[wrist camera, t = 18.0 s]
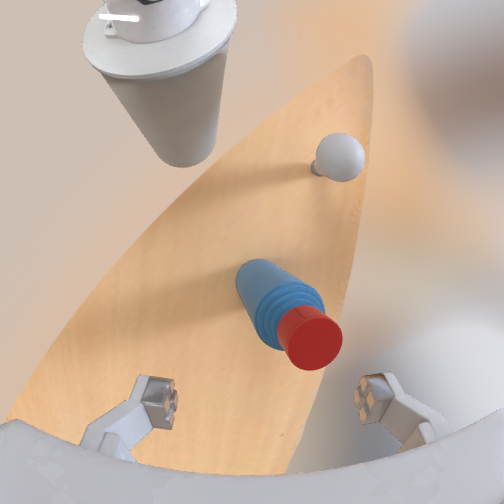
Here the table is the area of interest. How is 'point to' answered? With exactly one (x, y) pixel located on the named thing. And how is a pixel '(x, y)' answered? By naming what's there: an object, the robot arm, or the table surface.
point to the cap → (309, 337)
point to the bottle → (272, 297)
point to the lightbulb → (338, 158)
